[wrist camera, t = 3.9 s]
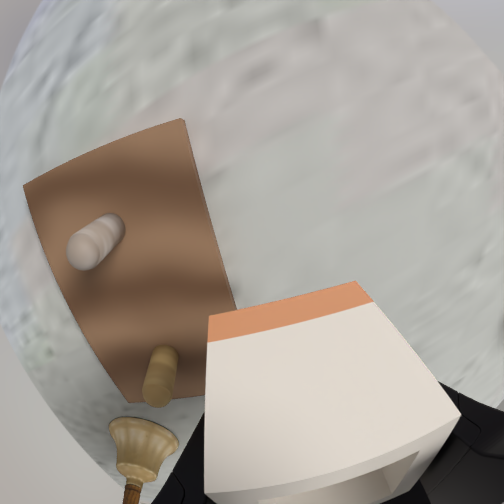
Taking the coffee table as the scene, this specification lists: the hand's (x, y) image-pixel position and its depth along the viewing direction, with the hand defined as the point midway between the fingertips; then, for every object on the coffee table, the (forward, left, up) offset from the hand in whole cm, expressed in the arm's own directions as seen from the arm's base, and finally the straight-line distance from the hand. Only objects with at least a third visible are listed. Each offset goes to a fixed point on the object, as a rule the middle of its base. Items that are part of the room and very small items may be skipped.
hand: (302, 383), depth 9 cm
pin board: (0, +9, -11) cm, 14 cm away
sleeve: (0, 0, -2) cm, 2 cm away
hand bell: (-18, +18, -12) cm, 28 cm away
